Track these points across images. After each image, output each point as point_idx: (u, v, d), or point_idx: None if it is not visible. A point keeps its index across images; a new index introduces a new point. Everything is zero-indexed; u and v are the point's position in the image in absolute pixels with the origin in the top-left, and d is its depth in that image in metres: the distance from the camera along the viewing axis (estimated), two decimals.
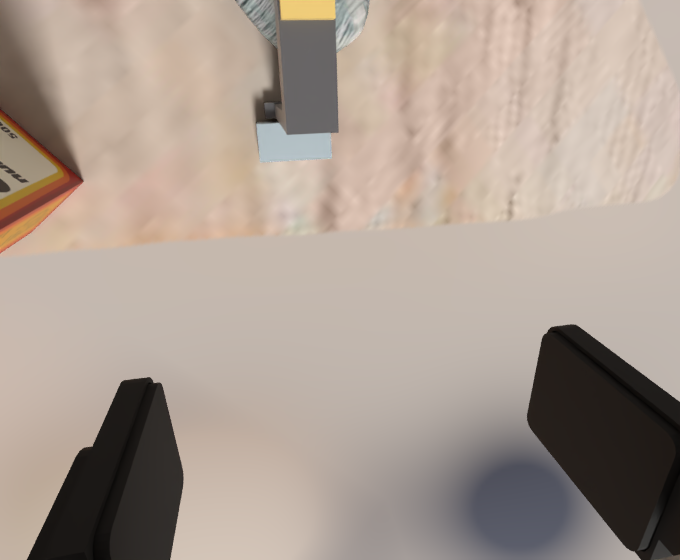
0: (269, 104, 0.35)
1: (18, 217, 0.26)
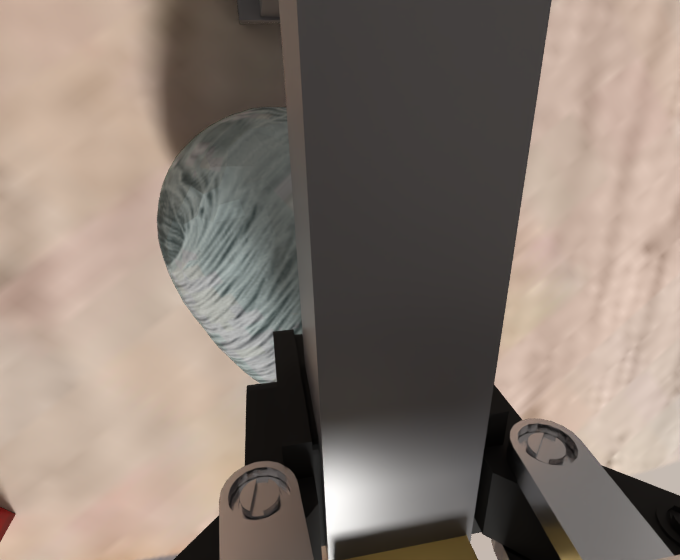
0: None
1: None
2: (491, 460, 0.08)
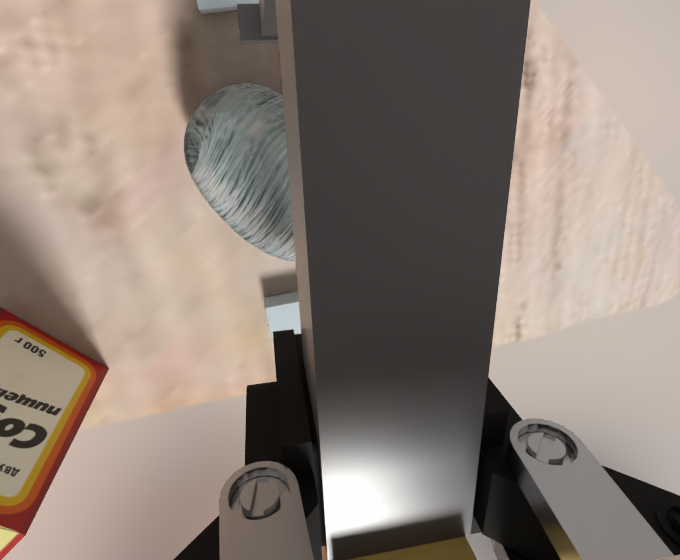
0: None
1: (57, 467, 0.28)
2: (491, 460, 0.08)
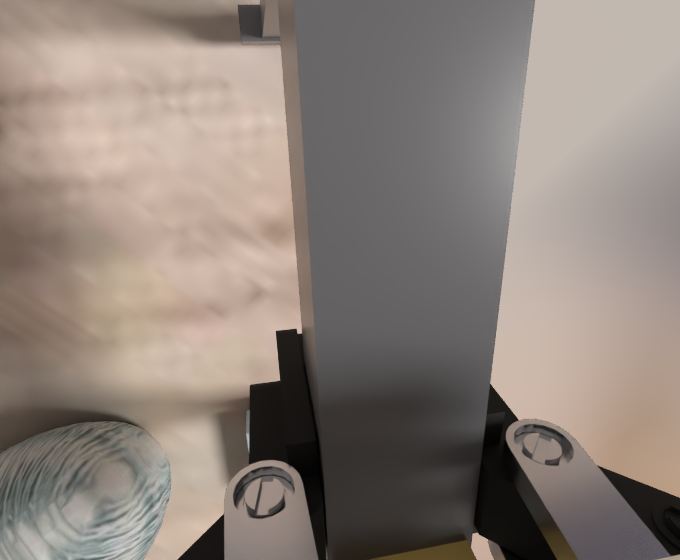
0: None
1: None
2: (487, 460, 0.08)
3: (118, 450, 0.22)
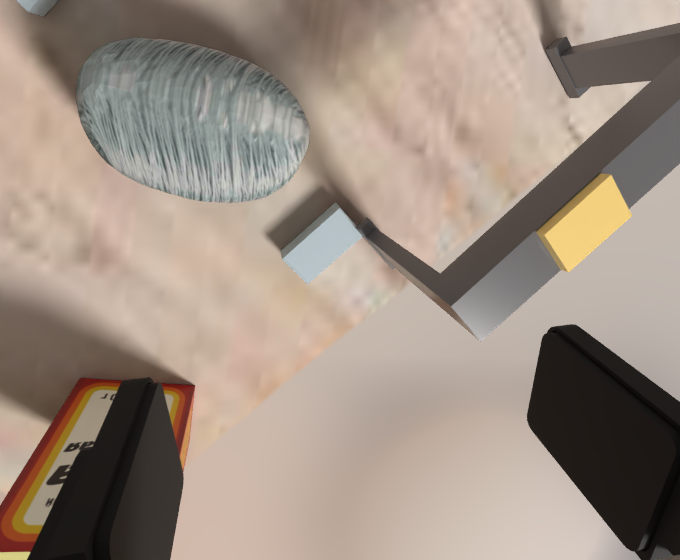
0: (372, 224, 0.33)
1: None
2: None
3: None
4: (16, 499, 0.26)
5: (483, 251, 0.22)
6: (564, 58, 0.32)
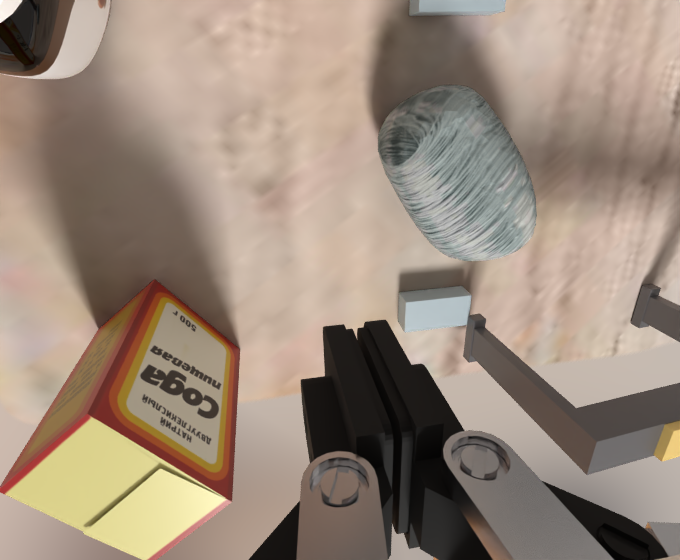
0: (484, 323, 0.39)
1: (234, 440, 0.29)
2: (426, 473, 0.08)
3: None
4: (118, 378, 0.24)
5: (618, 413, 0.29)
6: (652, 300, 0.43)
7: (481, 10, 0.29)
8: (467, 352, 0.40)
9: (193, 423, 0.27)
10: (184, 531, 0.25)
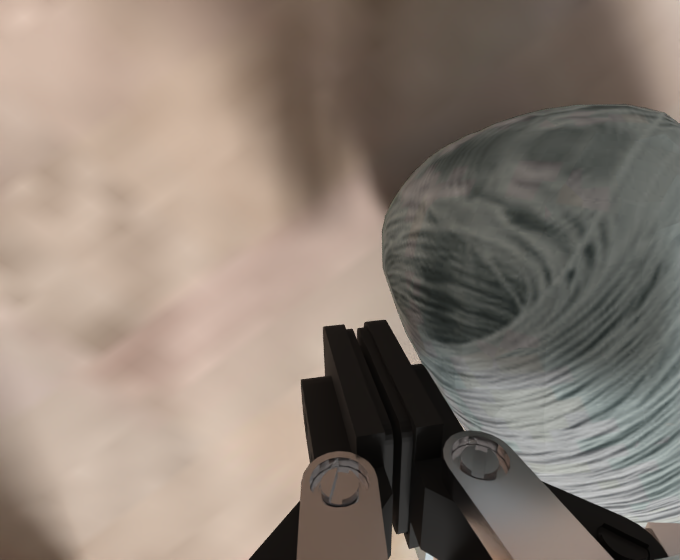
0: None
1: None
2: (426, 474, 0.08)
3: None
4: None
5: None
6: None
7: None
8: None
9: None
10: None
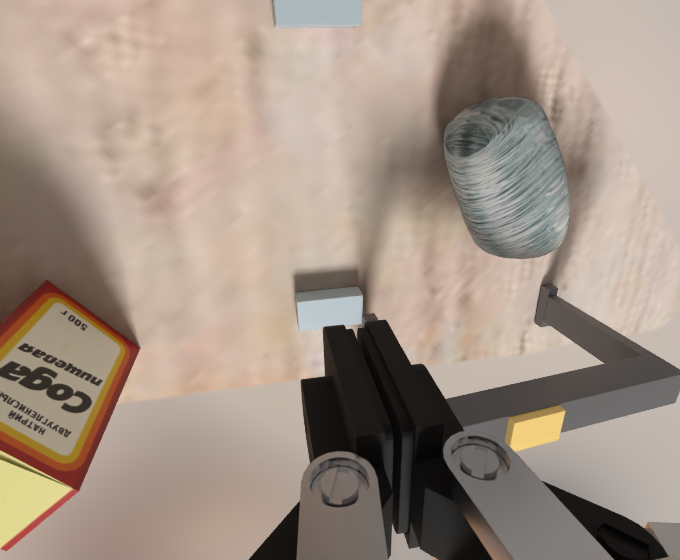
0: None
1: (102, 434, 0.30)
2: (426, 473, 0.08)
3: None
4: None
5: (468, 407, 0.30)
6: (549, 299, 0.44)
7: (338, 23, 0.30)
8: None
9: (52, 417, 0.28)
10: (35, 520, 0.26)
